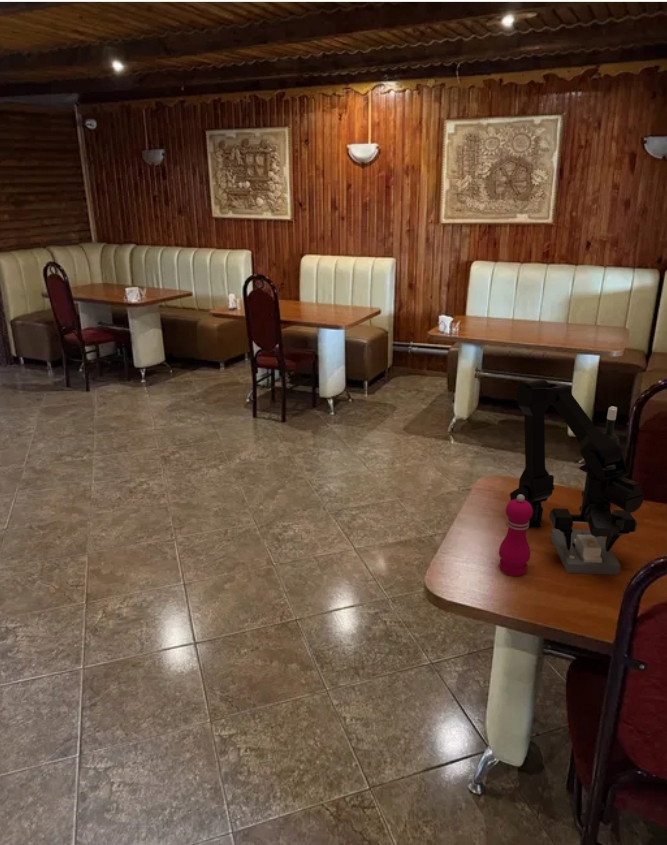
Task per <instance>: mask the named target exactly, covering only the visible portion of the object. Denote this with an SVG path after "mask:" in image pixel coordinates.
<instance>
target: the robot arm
mask: <svg viewBox="0 0 667 845" xmlns="http://www.w3.org/2000/svg"><path fill="white" fill-rule="evenodd" d="M516 400H517V405H518V408H519V409H520V410H521V412H522V414H523V416H524V457H525V458H524V462H525V463H524V464H525V468H524V470H523V472H522V474H521V475H520V477H519V481H518V488H516V489H514V490H513V491H511V492H510V493H509V495H510V501H511V500H514V499H517V496H518V495H520V494H521V495H523V496H524V497H525V500H526V501H527V502H529V503H530V504H531V506H532V509H533V514H532V517H531V518H530V519H529V527H531V528H537V527H538V528H540V527H541V526H542V524H541V522H542V520H543V519H542V518H543V512H544V508H543V505H542V503H544V502H547V501H548V500H549V498H550V497H551V496H552V495H553V492H554V491H555V486H554V484H555V483H554V480H555V477H554V475H553V474H550V473H549V471H548V470H547V468H546V438H545V437H546V433H545V432H546V430H545V429H546V428H545V424H546V423H545V421H546V420H545V419H546V418H545V417H546V416H545V414H546V413H547V411H548V409H549V408H550V406H551V404H552V405H553V407H554V408H555V410H556V412H557V413H558V414H559V415H560V416H561V418H562V419H563V421H564V423H565V424H566V425H567V426H568V428H569V429H570V431H571V432H572V433H573V435H574V436H575V438H576V439H577V442H578V443H579V453H580V455H581V456H582V458H583V460H584V464H583V465H581V466H579V470H580V471H582V472H585V473H586V476H585V482H584V488H583V490H582V491H581V496H582V500H581V505H580V506H579V512H580V514H575V513H574V514H573V513H572V514H571V513H570V510H569V509H568V508H552V509H551V510H550V511H549V516H548V518H549V520H550V521H551V523H552V526H553V529H559V531H561V532H563V535H564V539H565V543H566V547H567V550H570V547H571V534H572V532H573V530H574V529H573V525H574V524H588V527H589V528H588V529H589V530H590V533H591V535H592V536H594V537H599V536H603V538H604V537H605V541H606V548H605V549H606V551H607V552H609V550H610V549H611V550H612V548H613V546H614V545H615V543H616V542H617V540H618V539H619V538H620V537H621V536H624V535H628V534H630V533H632V532H633V533H635V532H636V531H637V526H638V523H637V520H636V518H635V517H634V516H633V515H632V513H635V512H636V511H638V510H639V508H641V506H642V504H643V503H644V499H645V495H644V494H645V493H644V491H643V489H641V488H640V486H641V484H640V482H638V481H634V480H632V479H629V478H627V477H625V476H629V475H630V471H629V469H628V466H627V463H626V461H625V459H624V456H623V451H622V449H621V447H620V446H618V444H617V443H616V442H615V441H614V440H613V439H612V438H611V437H610V436H608V435H606V434H604V433H603V431H601V430H599V428H598V427H596V426H595V424H594V422H593V421H592V420H591V419H590V417H589V416H588V414H587V413H586V412H585V411H584V409H583V408H582V406H581V404H579V401H577V399H576V398H575V397H574V395H573V394H572V389H571V388H570V387H569V386H566V385H560V384H559V383H553V382H548V381H547V380H546V379H535V380H531V381H529V380H528V381H524V382H521V383H520V384H519V385H518V386H517V388H516ZM611 466H615V469H612V470H608V471H607V470H605V469H603V468H607V467H611ZM611 504H612V505H614V506H616V507H618V508H619V509H613V510H611V506H612V505H611ZM620 509H621V510H620ZM529 527H528V528H529ZM572 529H573V530H572Z"/></svg>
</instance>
